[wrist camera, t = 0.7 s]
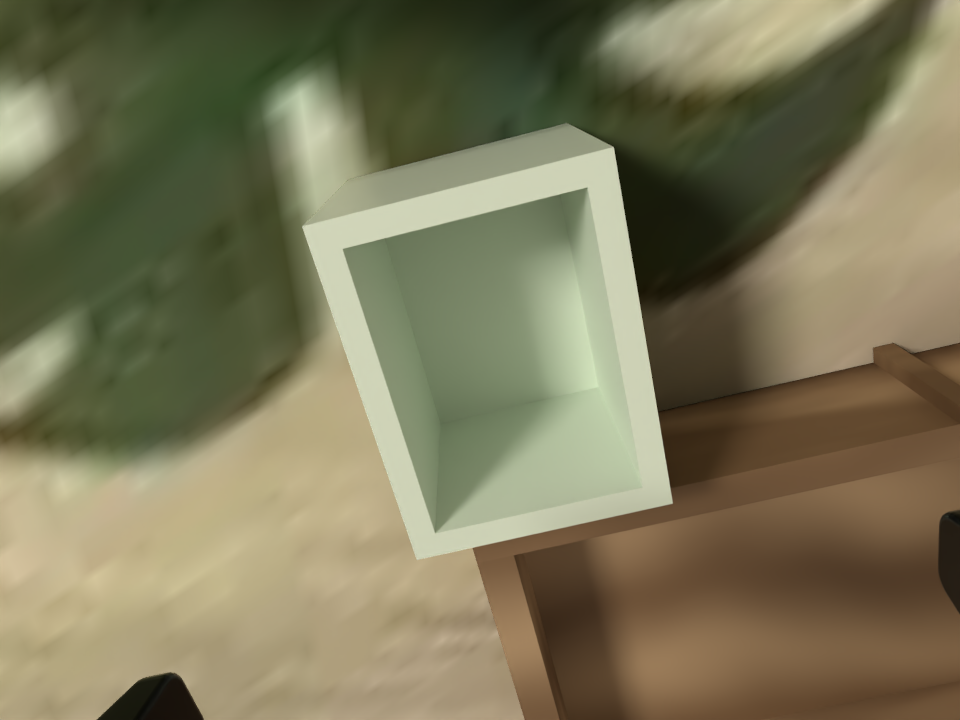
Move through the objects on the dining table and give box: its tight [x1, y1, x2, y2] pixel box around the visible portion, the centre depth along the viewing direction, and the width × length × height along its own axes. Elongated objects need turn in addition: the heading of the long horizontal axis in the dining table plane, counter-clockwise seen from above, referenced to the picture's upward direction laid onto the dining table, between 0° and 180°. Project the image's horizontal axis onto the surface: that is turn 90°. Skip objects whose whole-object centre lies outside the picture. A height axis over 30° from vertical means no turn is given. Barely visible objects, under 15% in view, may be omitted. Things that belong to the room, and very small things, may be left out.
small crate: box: [302, 123, 673, 560], centre depth 18 cm, size 8×6×6 cm
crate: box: [473, 343, 960, 720], centre depth 22 cm, size 14×18×4 cm
